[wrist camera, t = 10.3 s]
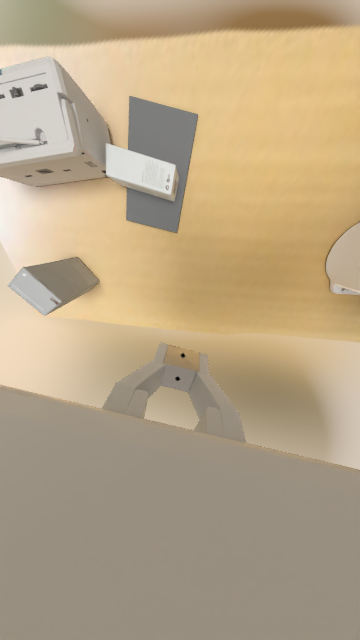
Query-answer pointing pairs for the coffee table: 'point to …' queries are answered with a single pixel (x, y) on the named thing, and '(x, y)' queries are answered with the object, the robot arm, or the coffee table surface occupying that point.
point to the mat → (159, 158)
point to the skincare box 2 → (141, 172)
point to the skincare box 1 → (53, 283)
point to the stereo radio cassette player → (48, 127)
